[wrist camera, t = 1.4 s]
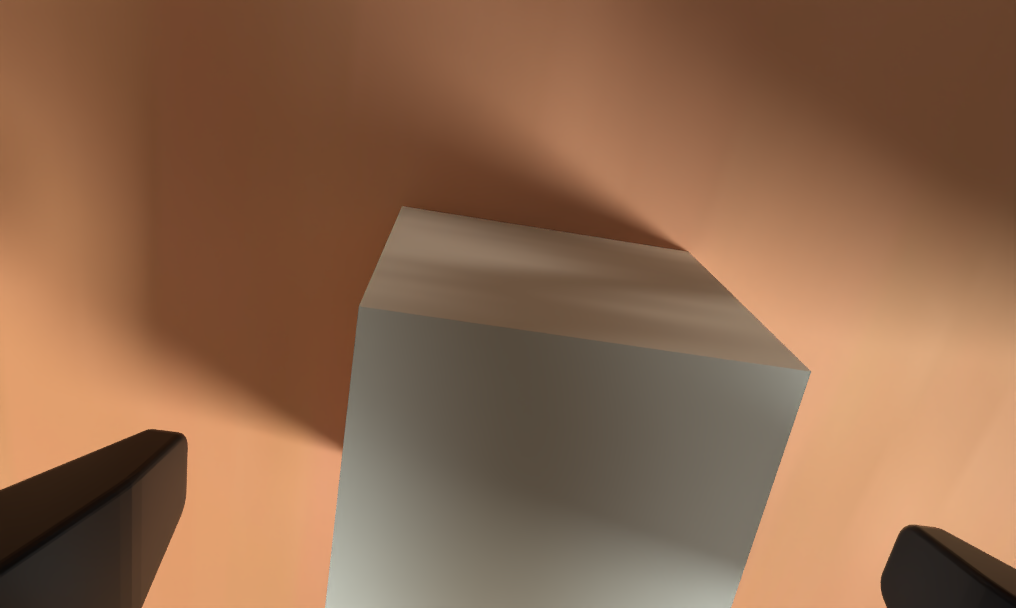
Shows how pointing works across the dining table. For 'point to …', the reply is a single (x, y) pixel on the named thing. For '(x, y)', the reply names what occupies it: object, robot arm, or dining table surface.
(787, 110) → the dining table surface
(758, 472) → the cream block
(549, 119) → the dining table surface
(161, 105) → the dining table surface
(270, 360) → the dining table surface
